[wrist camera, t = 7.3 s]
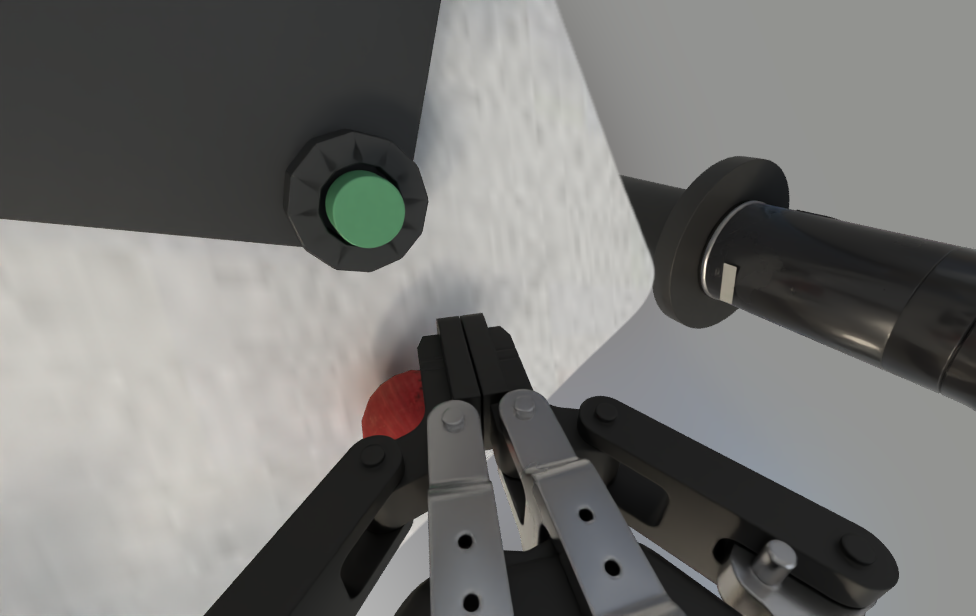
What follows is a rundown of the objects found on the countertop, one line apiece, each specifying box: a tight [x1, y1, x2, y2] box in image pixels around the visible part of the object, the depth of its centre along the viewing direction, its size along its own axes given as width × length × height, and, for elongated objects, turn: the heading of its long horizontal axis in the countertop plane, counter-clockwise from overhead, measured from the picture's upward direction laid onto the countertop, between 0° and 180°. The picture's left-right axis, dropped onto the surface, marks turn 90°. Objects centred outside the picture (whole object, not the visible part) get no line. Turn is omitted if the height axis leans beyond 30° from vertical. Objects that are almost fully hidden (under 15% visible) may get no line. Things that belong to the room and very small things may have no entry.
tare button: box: [325, 170, 405, 248], centre depth 18 cm, size 3×3×2 cm
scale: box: [0, 0, 441, 272], centre depth 16 cm, size 16×14×3 cm
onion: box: [362, 370, 425, 439], centre depth 24 cm, size 6×6×8 cm
